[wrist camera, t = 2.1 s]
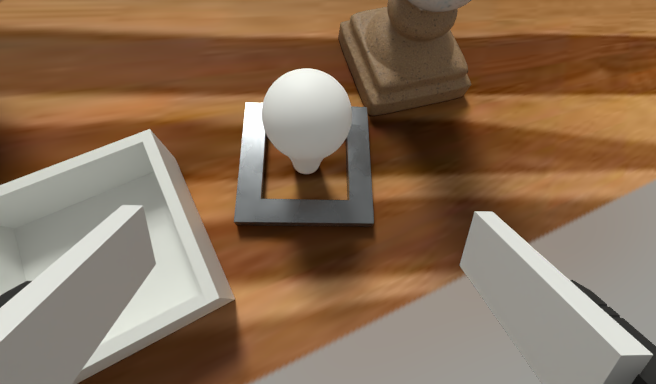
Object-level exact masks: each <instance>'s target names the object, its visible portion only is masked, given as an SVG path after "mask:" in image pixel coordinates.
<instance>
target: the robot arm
mask: <svg viewBox="0 0 656 384" xmlns="http://www.w3.org/2000/svg"><path fill="white" fill-rule="evenodd" d="M155 265H156V261H155V257H154V252H153V248H152V243H151V239H150V234H149V230H148V225H147V221H146V216H145V212H144V207H143V205H122V206H120V207H119V208H118V209H117V210H116V211H115V212H113V213H112V214H111V215H110V216H109V217H107V218H106V219H105V220H104V221H103V222H102V223H100V224H99V225H98V226H97V227H96V228H94V229H93V230H92V231H91V232H90V233H88V234H87V235H86V236H85V237H84V238H83V239H81V240H80V241H79V242H78V243H77V244H75V245H74V246H73V247H72V248H71V249H70V250H68V251H67V252H66V253H65V254H64V255H62V256H61V257H60V258H59V259H58V260H57V261H55V262H54V263H53V264H52V265H51V266H49V267H48V268H47V269H46V270H45V271H44V272H42V273H41V274H40V275H39V276H38V277H36V278H35V279H34V280H33V281H25V282H24V283H22V284H20V285H18V286H16V287H14V288H12V289H11V290H9V291H7V292H5V293H3V294H2V295H1V296H0V384H72V383H73V382H74V380H75V379H76V377H77V376H78V375H79V373H80V372H81V370H82V369H83V367H84V366H85V365H86V363H87V362H88V360H89V359H90V357H91V356H92V355H93V353H94V352H95V350H96V349H97V348H98V346H99V345H100V343H101V342H102V340H103V339H104V338H105V336H106V335H107V333H108V332H109V330H110V329H111V328H112V326H113V325H114V323H115V322H116V320H117V319H118V318H119V316H120V315H121V313H122V312H123V311H124V309H125V308H126V306H127V305H128V303H129V302H130V301H131V299H132V298H133V296H134V295H135V293H136V292H137V291H138V289H139V288H140V286H141V285H142V284H143V282H144V281H145V279H146V278H147V276H148V275H149V274H150V272H151V271H152V269H153V268H154V266H155ZM460 267H461V268H462V270H463V271H464V273H465V274H466V276H467V277H468V278H469V280H470V281H471V283H472V284H473V286H474V287H475V288H476V290H477V291H478V293H479V294H480V295H481V297H482V299H483V300H484V301H485V303H486V304H487V306H488V307H489V309H490V310H491V311H492V313H493V314H494V316H495V317H496V319H497V320H498V322H499V323H500V324H501V326H502V327H503V329H504V330H505V332H506V333H507V335H508V336H509V337H510V339H511V340H512V342H513V343H514V345H515V346H516V347H517V349H518V350H519V352H520V353H521V355H522V356H523V357H524V359H525V360H526V362H527V363H528V365H529V366H530V368H531V369H532V370H533V372H534V373H535V375H536V376H537V378H538V379H539V380H540V382H541V383H542V384H656V346H655V345H654V344H652V343H651V342H650V341H649V340H648V339H647V338H645V337H644V336H643V335H642V334H641V333H640V332H638V331H637V330H636V329H635V328H634V327H633V326H631V325H630V324H629V323H628V322H627V321H625V319H623V318H620V316H619V315H618V313H616V312H615V311H614V310H613V309H612V308H610V307H607V304H606V303H605V302H603V301H602V300H601V299H600V298H599V297H598V296H597V295H595V294H594V293H593V292H592V291H590V290H589V289H587V288H585V287H584V286H582V285H580V284H578V283H577V282H575V281H573V280H569V279H568V278H566V277H565V276H564V275H563V274H562V273H561V272H560V271H559V270H558V269H556V268H555V267H554V266H553V265H552V264H550V262H548V261H547V260H546V259H545V258H544V257H543V256H542V255H541V254H540V253H538V252H537V251H536V250H535V249H534V248H533V247H532V246H531V245H529V244H528V243H527V242H526V241H525V240H524V239H523V238H522V237H520V236H519V235H518V234H517V233H516V232H515V231H514V230H513V229H511V228H510V227H509V226H508V225H507V224H506V223H505V222H504V221H502V220H501V219H500V218H499V217H498V216H497V215H496V214H495V213H493V212H485V211H475V212H474V215H473V219H472V223H471V226H470V230H469V233H468V237H467V241H466V244H465V248H464V251H463V255H462V258H461V262H460Z"/></svg>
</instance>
